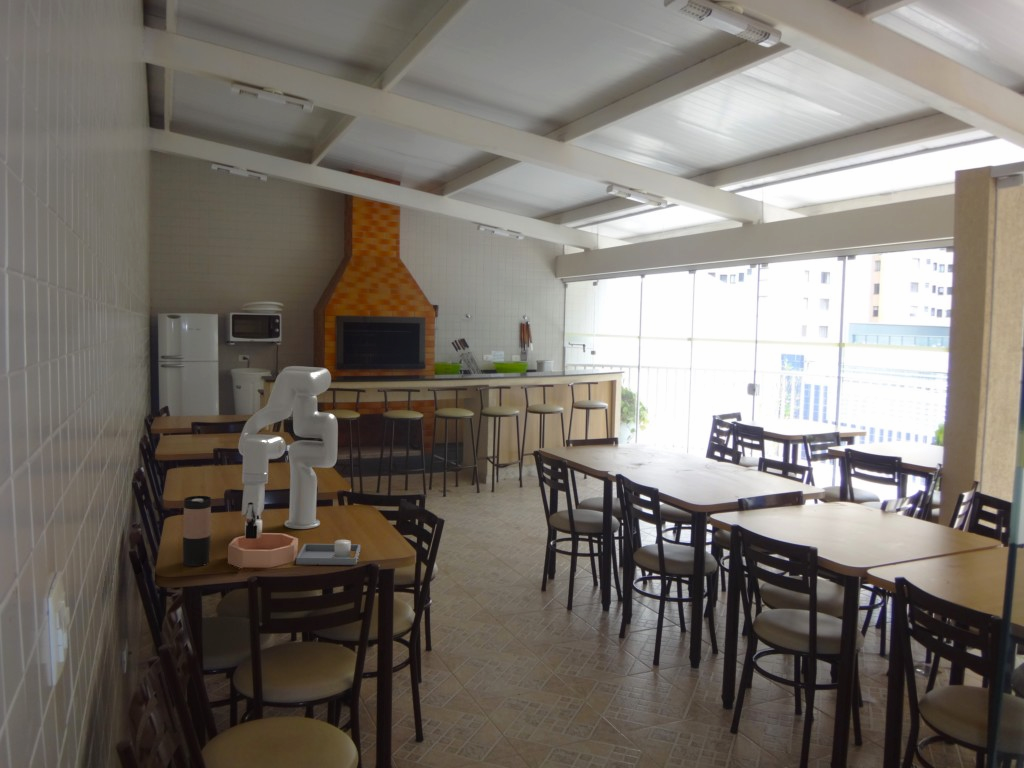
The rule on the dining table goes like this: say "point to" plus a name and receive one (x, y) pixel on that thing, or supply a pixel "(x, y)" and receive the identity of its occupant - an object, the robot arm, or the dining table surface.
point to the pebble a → (259, 528)
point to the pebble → (342, 549)
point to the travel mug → (196, 530)
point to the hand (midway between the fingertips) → (253, 535)
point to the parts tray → (324, 555)
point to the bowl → (263, 550)
